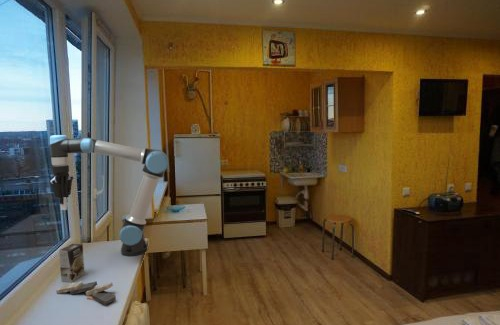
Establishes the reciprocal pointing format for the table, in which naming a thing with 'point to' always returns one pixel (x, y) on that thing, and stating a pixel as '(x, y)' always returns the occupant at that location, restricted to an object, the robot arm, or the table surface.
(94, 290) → the domino
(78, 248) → the coffee box
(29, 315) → the table surface
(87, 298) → the domino
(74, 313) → the table surface
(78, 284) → the domino
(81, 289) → the domino
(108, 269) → the table surface
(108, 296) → the domino
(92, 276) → the table surface
